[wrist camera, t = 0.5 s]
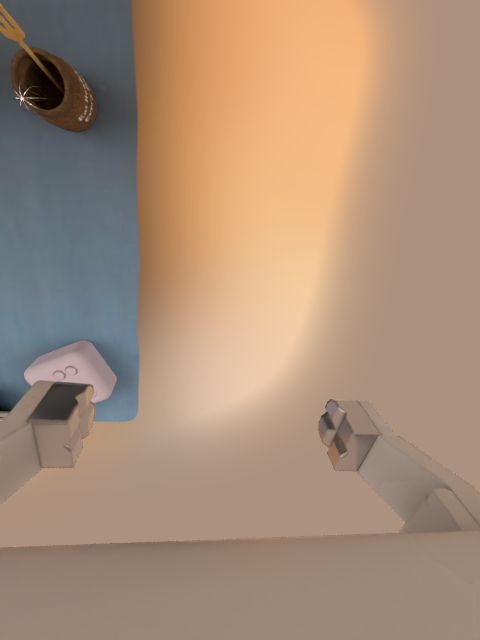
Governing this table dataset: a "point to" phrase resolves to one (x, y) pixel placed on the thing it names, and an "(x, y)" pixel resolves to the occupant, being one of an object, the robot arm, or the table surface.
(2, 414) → the light switch
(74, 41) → the table surface
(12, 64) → the utensil holder
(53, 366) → the electronic device
